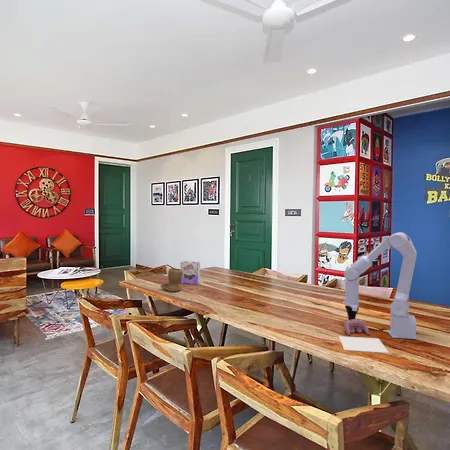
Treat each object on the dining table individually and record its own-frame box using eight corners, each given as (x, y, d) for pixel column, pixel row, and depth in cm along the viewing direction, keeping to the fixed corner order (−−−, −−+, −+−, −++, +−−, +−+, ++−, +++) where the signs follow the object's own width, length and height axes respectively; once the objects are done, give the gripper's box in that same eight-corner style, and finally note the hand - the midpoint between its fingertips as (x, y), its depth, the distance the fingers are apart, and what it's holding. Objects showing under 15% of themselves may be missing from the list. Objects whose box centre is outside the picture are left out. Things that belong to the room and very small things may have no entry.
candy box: (180, 283, 245) (180, 261, 245) (183, 281, 251) (183, 260, 250) (197, 284, 241) (197, 262, 241) (200, 283, 247) (200, 261, 246)
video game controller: (366, 335, 145) (363, 319, 148) (370, 334, 141) (367, 318, 144) (344, 336, 145) (341, 320, 148) (348, 335, 140) (345, 318, 143)
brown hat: (186, 290, 223) (186, 268, 223) (170, 293, 216) (170, 270, 215) (175, 286, 235) (174, 265, 235) (159, 289, 228) (159, 267, 227)
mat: (378, 338, 137) (378, 338, 137) (389, 353, 124) (389, 352, 124) (338, 336, 140) (338, 336, 140) (344, 350, 126) (344, 349, 126)
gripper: (340, 288, 160) (340, 316, 161) (345, 296, 146) (345, 326, 147) (355, 289, 159) (355, 317, 160) (362, 297, 145) (362, 327, 145)
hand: (351, 321), depth 153 cm, fingers closed
